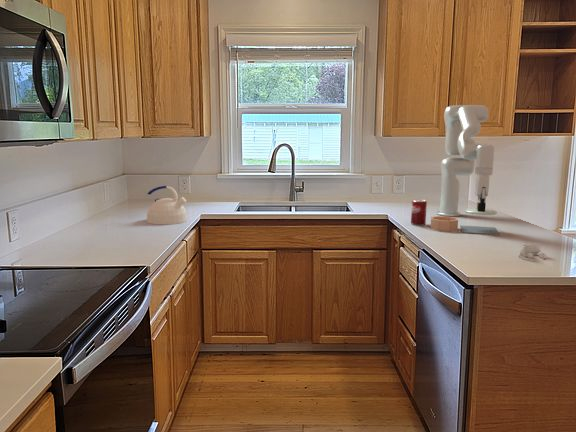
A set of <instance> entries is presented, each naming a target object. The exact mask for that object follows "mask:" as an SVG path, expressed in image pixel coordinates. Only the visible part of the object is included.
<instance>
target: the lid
mask: <svg viewBox="0 0 576 432" xmlns="http://www.w3.org/2000/svg"><path fill="white" fill-rule="evenodd" d="M477 202H478V203H479V200H478V199H477ZM464 212H465V213H466V214H471V215H476V216H477V215H478V216H479V215H480V216H482V215H483V216H494V215H498V211H496V210H494V209H487V208H485V212H480V211H478V207H477V206H476V208H466V209H464Z"/></svg>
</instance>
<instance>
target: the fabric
mask: <svg viewBox="0 0 576 432" xmlns="http://www.w3.org/2000/svg"><path fill="white" fill-rule="evenodd" d="M541 250H542V249H541V245H540V244H523V245H522V249H521V250H520V252H519V254H518V259H522V260H525V261H530V260H531V262H532V261H533V262H534V261H535V260H534V259H536V260H540V261H544V260H546V258H547V254H546V253H544V252H542V251H541ZM539 253H540V254H539ZM537 254H538V255H537Z"/></svg>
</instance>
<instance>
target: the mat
mask: <svg viewBox="0 0 576 432" xmlns="http://www.w3.org/2000/svg"><path fill="white" fill-rule="evenodd" d="M459 228H460V230H461V233H462V234H468V235H469V234H472V235H473V234H474V235H488V236H489V235H490V236H500V235H501V234H500V232H499V231H498V229H497V227H495V226H480V225H479V226H478V225H477V226H476V225H461V224H460V225H459Z"/></svg>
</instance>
